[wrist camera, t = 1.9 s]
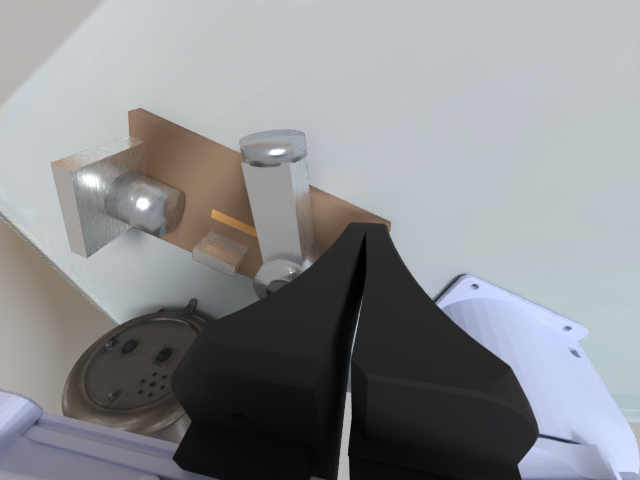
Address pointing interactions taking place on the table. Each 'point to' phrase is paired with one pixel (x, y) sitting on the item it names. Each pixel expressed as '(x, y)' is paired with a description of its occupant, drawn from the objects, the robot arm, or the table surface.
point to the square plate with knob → (127, 203)
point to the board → (223, 190)
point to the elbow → (279, 206)
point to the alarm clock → (134, 376)
